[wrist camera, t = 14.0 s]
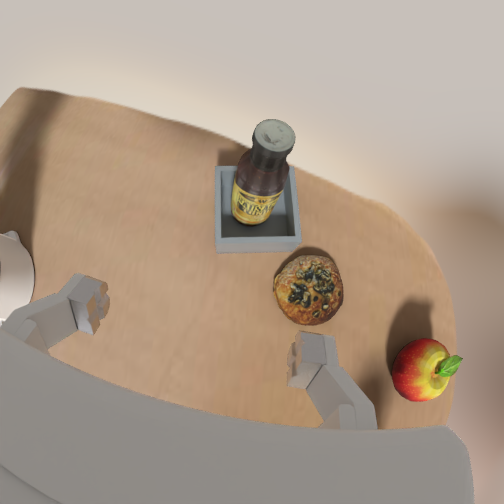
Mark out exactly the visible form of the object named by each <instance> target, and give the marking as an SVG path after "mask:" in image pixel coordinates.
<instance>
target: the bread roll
mask: <svg viewBox="0 0 504 504" xmlns="http://www.w3.org/2000/svg"><path fill="white" fill-rule="evenodd" d="M274 283H275V284H274V288H275V290H274V291H273V292H274V297H275V298H276V300H277V302H278V305H279V308H280V309H281V310H282V311H283V313H284V314H285V316H286V317H287V318H288V319H290V320H292V321H293V322H294V323H296V324H301V325H312V326H313V325H318V324H322V323H324V322H326V321H328V320H330V319H331V318H332V317H333V316H334V315H335V314H336V312H337V311H338V309H339V308H340V306H341V305H342V303H343V284H342V280H341V277H340V273H339V270H338V269H337V267H336V265H335V264H334V263H333V262H332V261H331V260H330V259H329V258H327V257H323V256H317V255H303V256H300V257H297V258H295V259H294V260H293V261H291V262H289V263H288V265H286V266H285V268H283V270H282V272H281V273H280V274H278V275H277V276H276V278H275V281H274Z"/></svg>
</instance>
